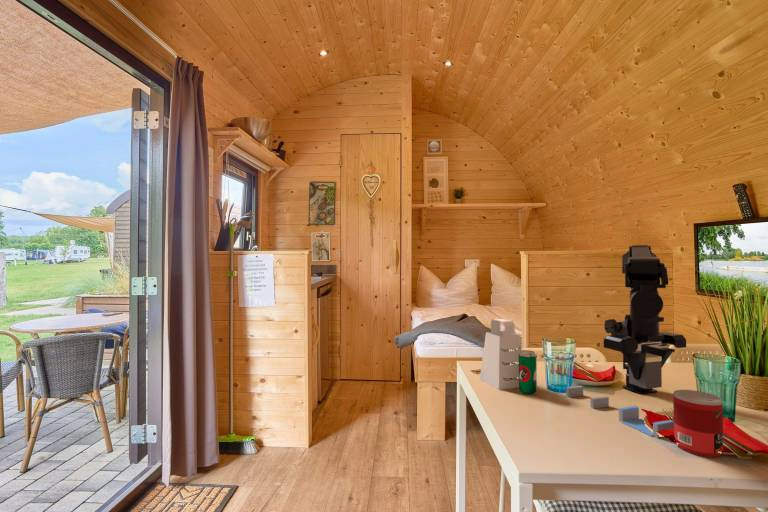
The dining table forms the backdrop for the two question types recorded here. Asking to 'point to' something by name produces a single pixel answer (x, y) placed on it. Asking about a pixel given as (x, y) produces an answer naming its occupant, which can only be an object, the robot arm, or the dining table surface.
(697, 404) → the canned food
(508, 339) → the grater
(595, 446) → the dining table surface
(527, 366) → the soda can
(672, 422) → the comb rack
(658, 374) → the box with lid
